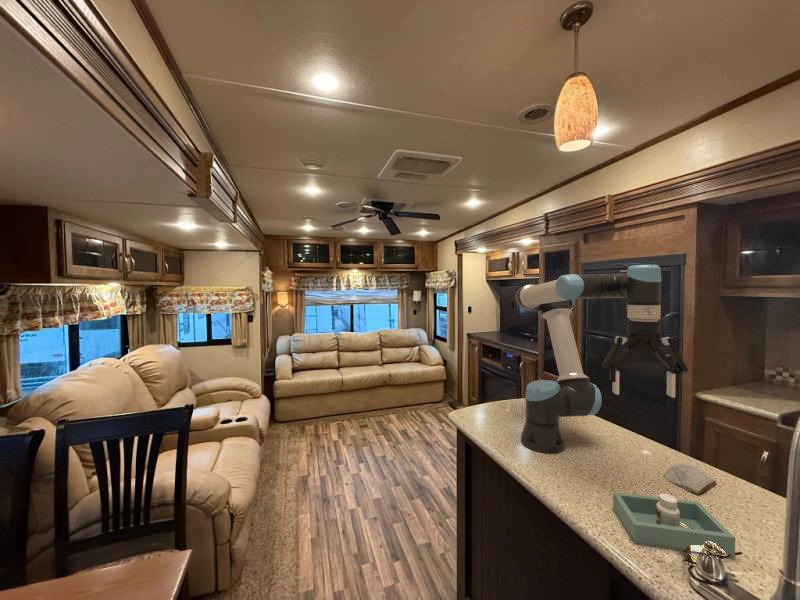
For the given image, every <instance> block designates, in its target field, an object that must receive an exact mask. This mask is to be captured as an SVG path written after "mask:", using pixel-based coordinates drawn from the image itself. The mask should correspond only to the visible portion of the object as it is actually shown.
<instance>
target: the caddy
mask: <svg viewBox="0 0 800 600" xmlns="http://www.w3.org/2000/svg"><path fill="white" fill-rule="evenodd" d="M658 502H659V496H651V495H641V494H633V493H632V494H631V493H625V492H617V491H616V492H614V491H612V510H613V511H614V513H615V514H616V516H617V518H618V520H619V521H620V522H621V524H622V526H623V528H624V529H625V532H627V534H628V537H629V538H630V540H631V541H632V543H633V544H634V545H639V546H640V545H641V546H646V547H654V548H659V549H661V548H662V549H668V550H674V551H681V552H685V551H684V550H685V549H686V547H687V546H690V545H700V546H701V545H703V544H704V542H705V541H711V542H713V543H716V544H717V545H718V546H719V547H720V548H721V549H723V550H724V551H725V552H726V553H728V554H730V555H731V556H730V557H729V558H730V559H736V537H735V536H734V535H733V534H732V533H731V532H730V531H729V530H728V529H726V528H725V527H724V525H722V524H721V523H720V521H719V520H717V518H715V517H714V516H713V515H712V514H711V513H710V512H709V511H708V510H707V508H705V507H704V506H703V504H701V503H700V502H699V501H693V500H686V499H685V500H684V499H677V508H678V509H679V511H680V522H681V523H684V524H686V525H688V526H690V527H691V528H693V529H690V528H683V527H675V526H668V525H660V524H656V504H657V503H658ZM729 558H728V559H729Z"/></svg>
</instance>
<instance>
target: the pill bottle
mask: <svg viewBox="0 0 800 600" xmlns="http://www.w3.org/2000/svg"><path fill="white" fill-rule="evenodd" d="M658 497H659V502H658V503H657V504H656V524H660V525H668V526H675V527H680V511H679V509H678V508H677V500H678V499H677V498H676V497H674V496H673V495H672V494H671V495H670V494H669V493H668V494H667V493H659V495H658Z"/></svg>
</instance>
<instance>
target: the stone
mask: <svg viewBox="0 0 800 600" xmlns="http://www.w3.org/2000/svg"><path fill="white" fill-rule="evenodd" d="M663 475H664V480H665V481H666V482H668V483H671V484H673V485H675V486H676V487H679V488H681V489H683V490H685V491H687V492H692V493H694V494H697V495H699V494H702V493H704V492H707V491H708V490H710V489H712V488H714V487H715V486H717V482H716V479H715V478H713V477H710V476H708V475H707V474H706V473H704V472H703V471H701V470H700V469H698V468H697V467H696V466H692V465H691V464H690V465H689V464H684V463H676V464H673V465H671V466H670V467H669V468H668V469H667V471H666V472H664V473H663Z"/></svg>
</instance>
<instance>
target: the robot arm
mask: <svg viewBox="0 0 800 600" xmlns="http://www.w3.org/2000/svg"><path fill="white" fill-rule="evenodd" d="M661 293H662V272H661V267H660V266H659V264H640V265H639V264H637V265H636V264H635V265H629V266H628V267H627V272H626V273H597V274H594V273H593V274H587V273H586V274H582V273H581V274H574V273H571V274H563V275H560V276H559V277H558V278H557V279H555V280H551V281H547V282H543V283H534V284H533V283H532V284H526V285H523V286H521V287H519V288H518V290H517V291H516V293H515V301H516V304H517V305H518V306H519V307H520V308H521V309H523V310H526V311H527V312H528V311H529V312H540V314H541V317H542V318H543V319H545V320H546V322H547V327H548V332H549V336H550V340H551V345H552V349H553V353H554V354H553V355H554V358H555V362H556V367H557V372H558V375H559V376H558V378H557V379H556V381H554V380H551V379H547V380H545V379H540V380H539V379H538V380H534V381H531V382H529V383H528V384H527V386H526V388H525V395H524V397H525V423H524V426H523V428H522V431H521V434H520V442H521V444H522V443H523V444H522V446H524V447H526V448H527V449H528V450H532V451H533V452H534V451H535V452H537V453H542V454H558V453H561V452H563V451H564V450H565V447H566V445H565V438H564V436H563V432H562V430H561V427H560V418H562V417H565V418H566V417H587V416H588V417H589V416H594V415H596V414H597V413H598V412H599V411H600V409H601V407H602V401H603V400H602V394H601V393H602V392H601V391H600V389H599V387H598V386H597V385H596V384H594V383H592V382H591V381H590V380H591V379H590V377H589V376H587V375H586V374H585V373H584V371H583V367H582V363H581V362H582V361H581V358H580V355H579V351H578V348H577V344H576V340H575V334H574V332H573V327H572V323H571V320H570V314H572V312H573V311H572V310H573V309H574V308H575V303H576V302H575V301H576V300H582V299H583V300H584V299H585V300H586V299H627V303H626V304H627V308H626V309H627V310H626V317H627V319H629V320H627V321H626V323H627V325H626V329H627V330H626V332H627V335H626V337H624V336H618V335H615V336H614V339H613V344H612V345H611V348H610V349H609V351H608V352H607V353H606V356H605V358H604V359H603V361H602V363H601V366H602V367H603V368H604V369H606V370H608V380H609V382H611V383H612V392H613V393H614V394H615V395H620V371H618V369H619V368H620V367H622V365H624V363H625V362H626V361H627V360H628V359H629V358H631V356H633V355H634V354H636V353H638V354H652V353H653V354H654V356H656V357H657V359H659V360H660V361H661V363H662V364H664V366H666V367H667V369H669V371H666V395H667V396H669V397H670V398H676V386H678V385H679V383H680V375H682V373H686V372H688V370H689V369H688V367H687V365H686V363H685V361H684V360H683V358H682V356H681V354H680V353H679V351H678V349H677V346H676V345H675V339H674V337H673V338H672V337H670V336H665V337H661V327H662V326H661V323H662V322H660V321H659V320H661V317H662V316H661V313H662V312H661V308H662V307H661V306H662V305H661V299H662V298H661V295H662V294H661ZM625 343H626V344H627V346H626V347H625V348H624V350H623V351H622V352H621V353H620V354H619V355H618V353H619V351H620V350H621V348H622V346H623V345H624V344H625ZM661 344H662V345H663V346H664V347H665V348H666V350H667V352H668V354H669V356H670V357H671V359H672V361H673V362H674V363H673V362H672V361H671V360H670V359H669V358H668V356H667V355H666V354H665V353H664V352H663V350H661V348H659V347H660V345H661ZM617 355H618V356H617Z"/></svg>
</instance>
